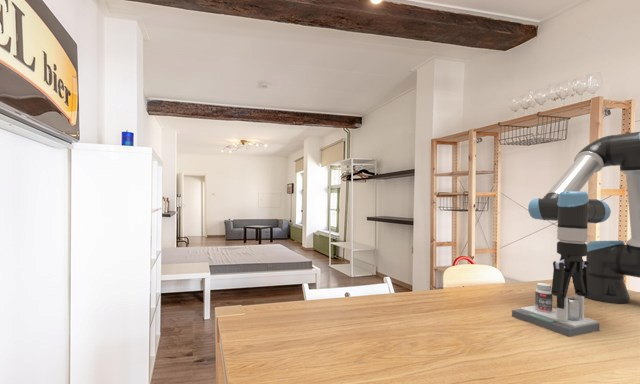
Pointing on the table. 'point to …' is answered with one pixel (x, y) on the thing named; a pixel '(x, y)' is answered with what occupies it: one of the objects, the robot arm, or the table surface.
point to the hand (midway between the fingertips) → (570, 317)
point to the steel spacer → (573, 309)
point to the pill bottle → (543, 297)
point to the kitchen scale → (556, 321)
